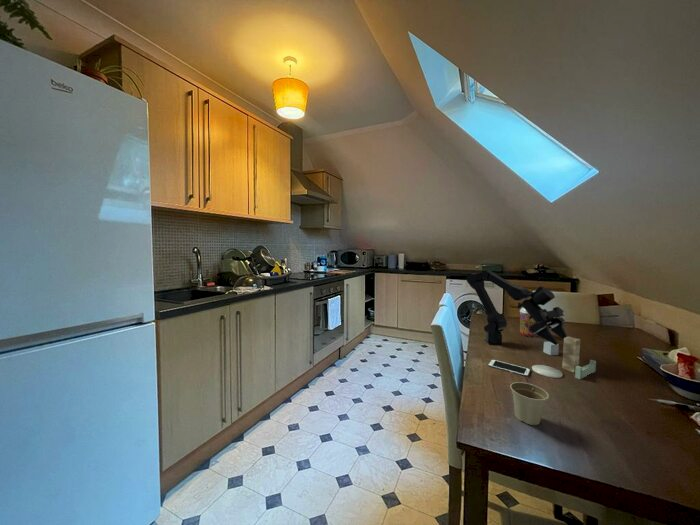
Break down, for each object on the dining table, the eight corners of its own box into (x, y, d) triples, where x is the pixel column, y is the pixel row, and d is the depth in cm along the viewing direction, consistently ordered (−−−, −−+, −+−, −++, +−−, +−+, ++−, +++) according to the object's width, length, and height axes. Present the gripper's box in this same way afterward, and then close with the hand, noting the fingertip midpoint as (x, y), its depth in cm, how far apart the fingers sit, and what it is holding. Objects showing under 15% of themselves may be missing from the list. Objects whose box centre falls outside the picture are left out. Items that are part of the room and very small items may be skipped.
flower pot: (555, 426, 75) (557, 396, 74) (530, 432, 72) (531, 402, 71) (525, 406, 84) (526, 380, 83) (501, 411, 81) (502, 384, 80)
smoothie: (514, 333, 155) (516, 299, 154) (528, 332, 156) (529, 299, 155) (525, 338, 147) (527, 302, 146) (539, 337, 148) (541, 302, 146)
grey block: (550, 355, 124) (551, 344, 124) (543, 351, 128) (543, 341, 127) (558, 354, 124) (558, 344, 124) (550, 351, 128) (551, 341, 128)
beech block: (562, 368, 110) (563, 337, 110) (566, 366, 112) (568, 336, 111) (573, 372, 107) (575, 340, 106) (578, 370, 109) (580, 339, 108)
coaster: (540, 376, 103) (540, 375, 103) (527, 365, 113) (527, 364, 113) (568, 378, 102) (568, 377, 101) (552, 367, 111) (552, 365, 111)
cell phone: (491, 360, 118) (491, 358, 118) (531, 371, 108) (531, 368, 108) (486, 367, 112) (486, 364, 112) (528, 378, 102) (528, 376, 102)
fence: (575, 377, 103) (575, 366, 102) (590, 370, 109) (591, 359, 109) (579, 379, 101) (580, 368, 101) (595, 371, 108) (596, 361, 107)
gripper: (538, 303, 111) (568, 336, 102) (560, 299, 120) (590, 329, 111) (518, 317, 118) (544, 349, 109) (540, 312, 127) (566, 342, 118)
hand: (562, 342), depth 112 cm, fingers open, 9 cm apart
